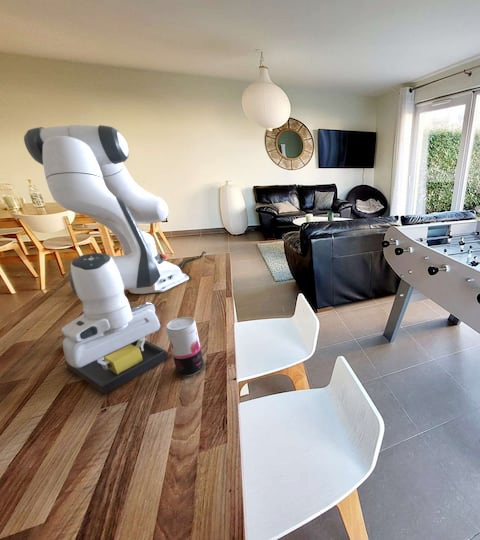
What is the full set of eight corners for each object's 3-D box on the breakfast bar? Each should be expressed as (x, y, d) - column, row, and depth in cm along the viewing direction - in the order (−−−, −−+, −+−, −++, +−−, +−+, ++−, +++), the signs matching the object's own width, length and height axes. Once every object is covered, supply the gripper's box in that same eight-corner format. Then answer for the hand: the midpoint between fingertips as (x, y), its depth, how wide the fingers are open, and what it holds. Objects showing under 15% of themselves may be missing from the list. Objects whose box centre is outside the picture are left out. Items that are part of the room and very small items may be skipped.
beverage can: (207, 369, 80) (198, 323, 74) (181, 381, 76) (169, 333, 70) (199, 357, 84) (190, 313, 79) (174, 368, 80) (162, 322, 74)
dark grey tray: (131, 338, 91) (129, 332, 90) (168, 357, 84) (166, 350, 83) (67, 368, 78) (64, 361, 77) (104, 394, 71) (101, 386, 70)
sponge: (134, 355, 83) (130, 344, 81) (143, 360, 81) (139, 349, 80) (108, 368, 78) (104, 356, 76) (117, 374, 76) (113, 362, 74)
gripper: (145, 297, 83) (156, 336, 89) (51, 332, 66) (71, 378, 72) (159, 302, 81) (169, 342, 86) (65, 340, 64) (84, 387, 69)
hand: (124, 359), depth 79 cm, fingers closed on sponge, 6 cm apart
